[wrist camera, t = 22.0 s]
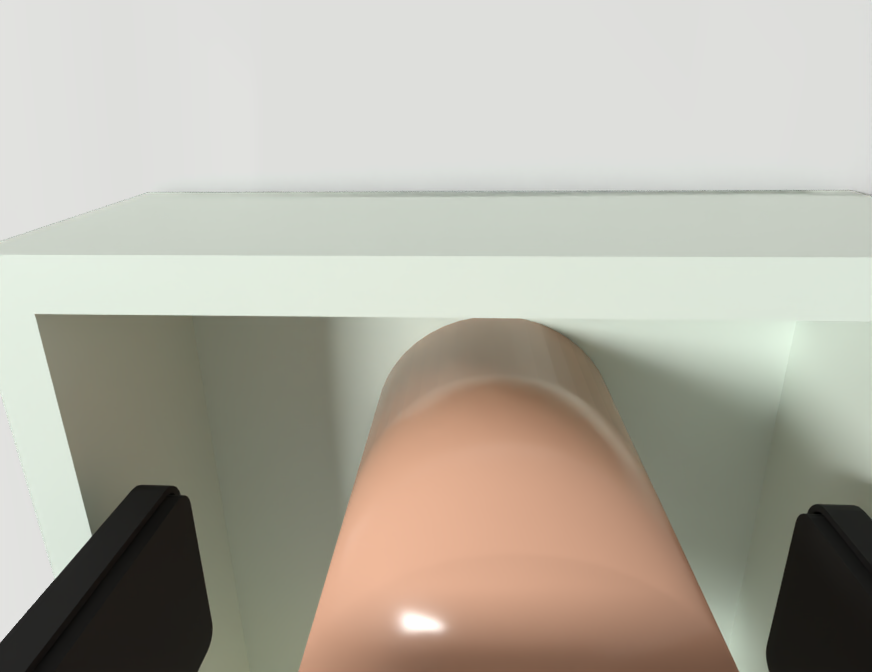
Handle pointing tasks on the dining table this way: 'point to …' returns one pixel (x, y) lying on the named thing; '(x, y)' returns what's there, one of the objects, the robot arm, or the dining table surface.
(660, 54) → the dining table surface
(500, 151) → the dining table surface
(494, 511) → the terracotta cylinder
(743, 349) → the tote
